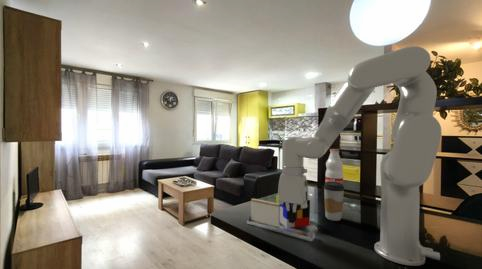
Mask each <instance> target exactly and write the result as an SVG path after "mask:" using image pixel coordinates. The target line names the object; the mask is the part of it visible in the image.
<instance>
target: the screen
mask: <svg viewBox="0 0 482 269" xmlns="http://www.w3.org/2000/svg"><path fill="white" fill-rule="evenodd" d="M250 203H251V204H250V214H251V220H255V221H258V222H262V223H266V224H270V225H273V226H277V227H279V226H280V224H281V222H280V204H278V203H276V202H272V201H268V200H267V201H266V200H263V199H258V198H251V199H250Z"/></svg>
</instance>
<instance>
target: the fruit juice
mask: <svg viewBox="0 0 482 269" xmlns="http://www.w3.org/2000/svg"><path fill="white" fill-rule="evenodd" d="M329 152H330V153H329V156H328V159H327V160H326V161H325V167H326V170H325V177H324V178H325V181H324V183H325V182H338V183H342V184H343V185H344V172H343V168H344V163H343V161H342V159H341V156H340V149H338V148H329Z"/></svg>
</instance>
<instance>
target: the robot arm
mask: <svg viewBox="0 0 482 269" xmlns="http://www.w3.org/2000/svg"><path fill="white" fill-rule="evenodd" d="M431 59H432V58H431V54H430V52H429V51H427V50H426V49H425V48H424V47H421V46H414V45H413V46H406V47H402V48H399V49H397V50H393V51H390V52H387V53H384V54H381V55H378V56H375V57H371V58H369V59H366V60H364V61H361V62H359V63H357V64H355V65H353V67H351V69H350V70H349V73H348V76H347V79H346V81H345V82H344V84H343V85H342V87H340V90H339V91H338V92H337V94H336V96H335V97H334V98H333V99H332V101H331V102H330V103H329V105H328V107H326V108H327V109H326V110H325V113H324V116H323V118H322V121H321V122H320V124H319V126H318V127H317V128H316V130H315V131H314V133H313V134H312V136H309V137H300V136H288V137H287V136H286V137H284V138H282V142H281V143H282V146H281V147H282V148H281V150H282V151H281V153H282V154H281V156H282V157H281V159H282V161H281V164H282V166H281V168H282V169H281V173H280V176H279V180H278V188H277V195H278V199H279V200H278V203H280V204H282V205H284V206H285V208H286V210H287V211H288V219H289V223H294V222H295V221H296V220H297V211H298V210H299V209H300V208H307V207H308V205H307V201H308V200H309V189H308V188H309V187H308V180H307V176H306V175H305V174H307V173H308V169H306V168H305V167H304V158H305V159H310V160H311V159H312V160H317V159H320V158H322V157H323V156H324V155H325V154H326V153H327V151H328V150H330V147H331V146H332V145H333V143H335V142H334V141H336V139H337V138H338V136H339V135H340V134H341V133H342V131H343V130H344V129H345V128H346V127H347V126H348V125H349V123H350V122H351V121H352V120H353V118H354V117H355V115H356V114H357V113H358V112H359V110H360V109H361V108H362V106H363V105H364V104H365V102H366V101H367V100H368V99H369V97H370V96H371V94H372V93H373V91H374V90H375V89H376V88H379V87H382V86H386V85H391V84H393V85H395V86H396V87H397V88H398V91H399V93H400V95H399V96H400V98H399V102H398V107H397V112H396V115H395V118H394V121H393V125H392V128H391V137H392V139H393V144H392V148H391V150H390V151H388V152H387V153H386V154H385V155H384V156H383V157H382V159H381V161H380V165H379V166H380V168H379V169H380V183H381V184H380V190H381V192H380V233H379V234H380V235H379V236H380V238H379V241H377V242H376V243H374V251H375V252H376V254H378V255H379V256H380V257H382V258H384V259H386V260H388V261H391V262H394V263H397V264H400V265H405V266H412V267H417V266H422V265H424V264H425V263H426V257H427V258H431V259H432V260H438V261H440V260H441V254H440V252H438V251H434V250H433V248H430V247H425V246H423V245H422V244H421V242H420V239H419V237H420V234H419V233H420V197H421V196H420V186H422V185H424V184H425V183H426V182H427V181H428V179H429V178H430V176H431V173H432V170H433V168H434V166H435V165H434V164H435V161H436V157H437V153H438V150H439V147H440V143H441V140H442V126H441V124H440V122H439V120H438V119H437V118H436V117H435V116H434V111H435V107H436V102H437V101H436V100H437V94H438V90H437V85H436V84H435V81H434V79H432V77H431V75H430V74H429V73H428V72H427V70H428V68H429V67H430V64H431ZM292 203H293V209H292Z"/></svg>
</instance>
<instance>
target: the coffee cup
mask: <svg viewBox="0 0 482 269" xmlns="http://www.w3.org/2000/svg"><path fill="white" fill-rule="evenodd" d="M323 191H324V193H323V194H324V197H323V198H324V209H325V210H324V212H325V214H324V215H325V218H326V219H327V220H330V221H336V222H338V221H341V219H342V216H343V206H344V194H345V193H344V192H345V186H344V183H343V184H342V183H338V182H325V181H324V185H323Z"/></svg>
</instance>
